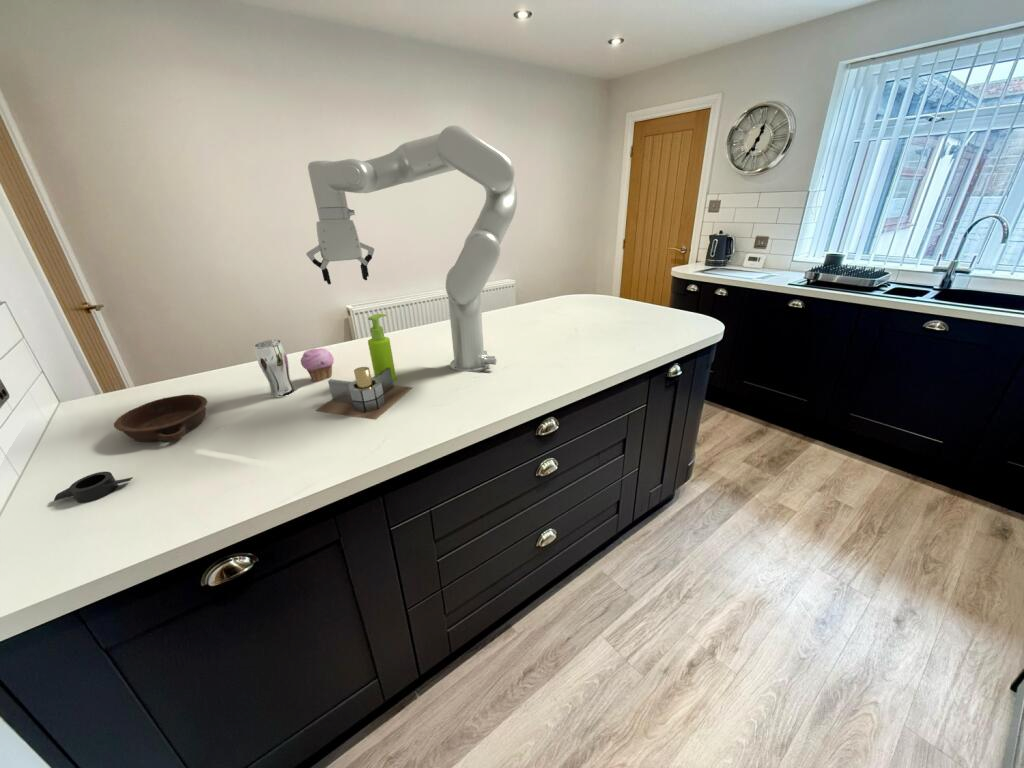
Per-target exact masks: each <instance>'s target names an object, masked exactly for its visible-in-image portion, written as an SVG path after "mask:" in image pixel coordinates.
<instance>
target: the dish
mask: <svg viewBox="0 0 1024 768" xmlns="http://www.w3.org/2000/svg"><path fill="white" fill-rule="evenodd" d="M207 404H208V399H207V398H206V397H205V396H202V395H199V394H182V395H175V396H168V397H167V396H166V397H163V398H159V399H155V400H152V401H150V402H147V403H145V404H142V405H140V406H139V405H138V406H137V407H135V408H132V409H130V410H128V411H127V412H125V413H123V414H122V415H121V416H119V417H118V418H117V419H116V420H115V422H114V423H113V427H114V428H115V429H116V430H118V431H120V432H122V433H123V434H125V436H127V437H128V438H129V439H131V440H133V441H136V442H137V441H138V442H154V441H155V442H156V441H162V442H165V443H167V442H168V443H169V442H170V443H171V442H175V441H177V440H180V439H182V438H183V437H184V435H185V434H186V433H188V432H189V431H192V430H193V429H195V428H196V427H198V426H199V425H201V423H202V422H203V421H204V420H205V419H206V416H207Z"/></svg>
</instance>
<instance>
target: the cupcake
mask: <svg viewBox="0 0 1024 768" xmlns="http://www.w3.org/2000/svg"><path fill="white" fill-rule="evenodd" d="M300 365H301V367H302V368H303V369H305V370H306V371H307V373H308V374H309V377H310V378H311V380H312V381H314V382H315V383H317V382H322V381H325V380H326V379H327V380H328V379H330V378H331V377H332V375H333V365H334V357H333V353H331V352H330V351H329V350H328V349H327V348H324V347H323V348H312V349H309V350H306V351H304V352H303V354H302V357H301V359H300Z"/></svg>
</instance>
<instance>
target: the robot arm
mask: <svg viewBox="0 0 1024 768" xmlns="http://www.w3.org/2000/svg"><path fill="white" fill-rule="evenodd" d="M307 170H308V176H309V179H310V184H311V188H312V189H311V190H312V193H313V198H314V202H315V208H316V212H317V216H318V220H319V221H316V234H317V235H316V236H317V241H318V245H316V246H315V247H313V248H311V249H310V250H309V251H307V252H306V256H307V258H309V260H310V261H311V262H312V263H313V265H315V266H316V267H318V268H320V270H321V274H322V277H323V281H324V282H326V283H327V284H328V285H331V284H332V281H331V278H330V277H331V276H330V273H329V269H328V268H327V267H328V264H329V263H330V262H341V261H352V260H358V262H360V270H361V276H362V279H363V280H364V281H368V278H369V276H370V275H369V270H368V265H369V262H370V261H371V260H372V259H373V255H374V252H375V248H374V247H372V246H370V245H368V244H365V243H362V242H360V239H359V235H358V230H357V229H356V225H355V223H354V220H353V219H351V217H352V216H356V214H355V212H356V211H355V210H354V209H350V208H349V207H348V202H347V201H348V200H347V195H346V193H352V194H353V193H355V194H370V193H373V192H378V191H380V190H385V189H388V188H392V187H396V186H399V185H402V184H407V183H412V182H413V183H414V182H415V181H420V180H423V179H427V178H430V177H433V176H437V175H441V174H444V173H449V172H453V171H455V170H457V171H458V172H460V173H462V174H463V175H465V176H466V177H468V178H470V179H471V180H473V181H474V182H476V183H477V184H479V185H481V186H482V187H483V188H484V189H485V193H486V196H485V202H484V204H483V207H482V209H481V210H480V213H479V215H478V218H477V219H476V221H475V223H474V224H473V227H472V228H471V231H470V232H469V233H468V235H467V236H466V238H465V240H464V244H463V247H462V248H461V251H460V254H459V255H458V257H457V260H456V261H455V263H454V265H453V266H452V267H451V268H450V269H449V270H448V272H447V274H446V279H445V291H446V294H447V297H448V298H447V299H448V309H449V318H450V319H449V320H450V321H449V322H450V331H451V332H450V333H451V340H452V350H453V351H452V352H453V359H452V360H451V362H450V363H449V368H450V370H452V371H458V372H466V373H467V372H468V373H479V372H482V371H485V370H487V369H489V367H490V365H494V366H495V365H496V364H497V362H498V361H497V358H496V356H495V355H488V350H484V349H485V348H484V334H483V317H482V312H483V311H482V301H481V300H482V299H481V293H482V291H483V290H484V288H485V286H486V284H487V283H488V280H489V279H490V277H491V275H492V273H493V272H494V269H495V267H496V266H497V264H498V262H499V260H500V259H499V258H500V255H501V247H500V246H501V243H502V241H503V240H504V238H505V235H506V234H507V231H508V229H509V227H510V224H511V223H512V220H513V218H514V216H515V213H516V209H517V204H518V192H517V187H516V183H515V180H514V179H515V168H514V164H513V162H512V161H511V159H510V158H509V157H508V156H507V155H506V154H504V153H502V152H501V151H499V150H498V149H496V148H494V146H492V145H490V144H488V143H487V142H485V141H484V140H482V139H480V137H478V136H476V135H475V134H473V133H471V132H470V131H468V130H467V129H465V128H463V127H462V126H459V125H456V124H455V125H454V124H452V125H448V126H446V127H445V128H443V129H442V131H440V132H439V133H436V134H433V135H429V136H425V137H422V138H418V139H414V140H411V141H407V142H404V143H402V144H400V145H399V146H398V147H397V148H396V149H394V150H393V151H392V152H389V153H387V154H384V155H381V156H378V157H374V158H371V159H370V158H369V159H366V160H359V159H355V158H347V159H340V160H336V161H332V160H312V161H310V162H309V163H308V165H307ZM362 249H364V250H366V251H367V254H366V255H365V257H363V253H362V252H363V250H362ZM319 252H320V256H321V258H322V261H320V260H317V258H316V257H315V255H316V254H317V253H319Z"/></svg>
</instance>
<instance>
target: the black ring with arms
mask: <svg viewBox="0 0 1024 768" xmlns="http://www.w3.org/2000/svg"><path fill="white" fill-rule="evenodd" d="M133 479H134V476H132V477H127V478H122V479H116V478H115V477H114V475H113V473H112V472H110V471H98V472H95V473H92V474H91V473H90V474H88V475H86V476H83V477H81V478H80V479H77V480H76V481H75V482H73V483H72V484H70V486H69V487H68V488H66V489H64V490H62V491H60V492H58V493H57V494H56V495H55V497H54V500H53V501H54V502H55V501H56V502H57V501H59V500H63V499H67V498H71V497H73V498H74V501H76V502H77V503H78V504H86V503H91V502H95V501H98V500H101V499H103V498H106V497H107V496H109V495H110V494H112V493H114V492H115V491H116V490H117V488H118V487H119V484H124V483H127V482H130V481H131V480H133Z"/></svg>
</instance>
